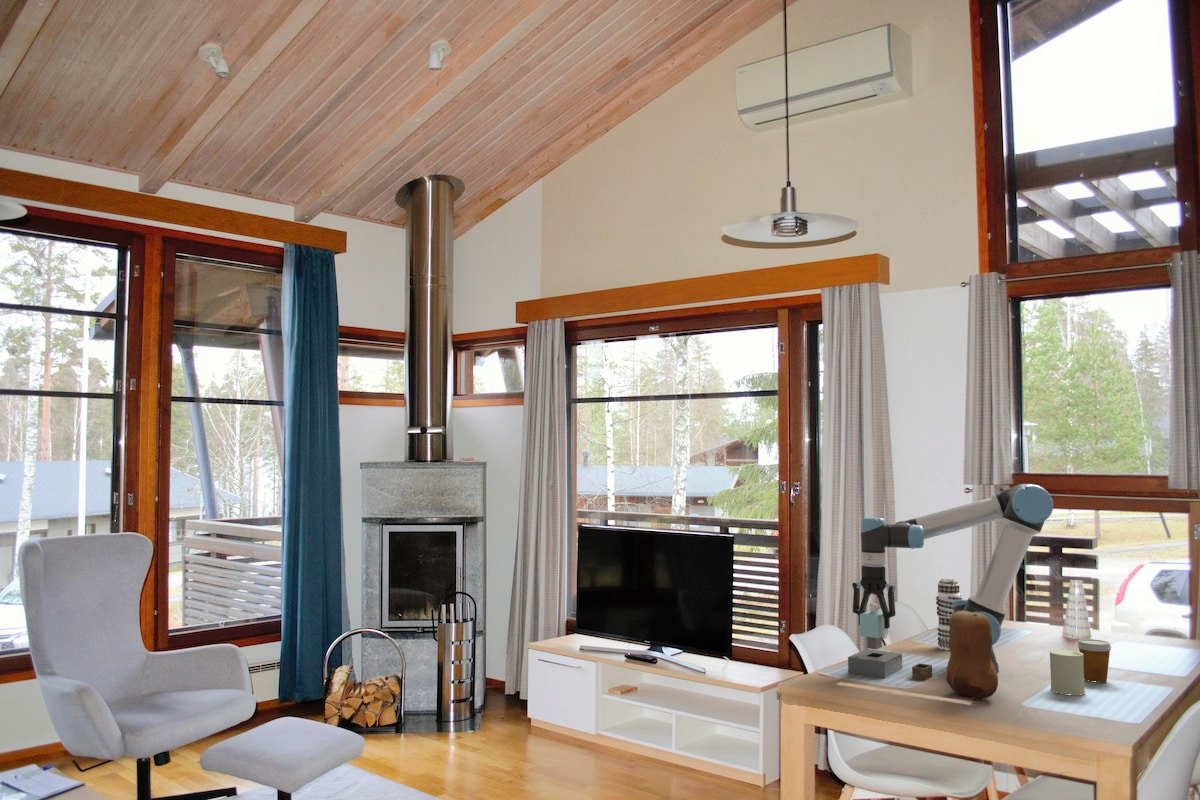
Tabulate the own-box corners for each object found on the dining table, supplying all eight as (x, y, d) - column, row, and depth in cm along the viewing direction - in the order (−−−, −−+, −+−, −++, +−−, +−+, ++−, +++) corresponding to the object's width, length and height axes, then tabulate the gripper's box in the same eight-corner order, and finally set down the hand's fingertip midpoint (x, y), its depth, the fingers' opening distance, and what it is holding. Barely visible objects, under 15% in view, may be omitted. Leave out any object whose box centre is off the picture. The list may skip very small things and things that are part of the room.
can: (1083, 697, 268) (1082, 655, 269) (1048, 693, 273) (1047, 652, 273) (1086, 690, 276) (1084, 650, 276) (1052, 686, 280) (1051, 646, 281)
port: (902, 672, 300) (901, 652, 300) (885, 681, 287) (884, 660, 288) (866, 667, 307) (866, 648, 308) (848, 676, 294) (847, 656, 295)
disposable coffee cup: (1100, 685, 282) (1098, 645, 283) (1071, 679, 290) (1070, 640, 291) (1119, 682, 286) (1118, 643, 287) (1090, 675, 295) (1089, 637, 295)
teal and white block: (888, 646, 300) (887, 603, 300) (878, 651, 292) (877, 606, 293) (870, 644, 303) (869, 601, 304) (860, 648, 296) (859, 604, 297)
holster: (939, 680, 289) (938, 665, 289) (931, 684, 283) (931, 670, 283) (913, 676, 294) (913, 662, 294) (905, 681, 287) (905, 666, 288)
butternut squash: (993, 694, 272) (991, 608, 273) (1002, 705, 259) (1000, 615, 260) (943, 691, 275) (941, 606, 276) (950, 702, 262) (948, 614, 263)
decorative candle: (965, 647, 339) (964, 579, 341) (960, 652, 331) (958, 582, 333) (940, 644, 344) (938, 577, 346) (934, 649, 336) (932, 580, 338)
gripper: (841, 564, 302) (841, 635, 301) (898, 568, 291) (899, 642, 289) (849, 562, 308) (850, 632, 307) (906, 566, 297) (907, 638, 295)
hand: (874, 637), depth 298 cm, fingers closed on teal and white block, 6 cm apart
